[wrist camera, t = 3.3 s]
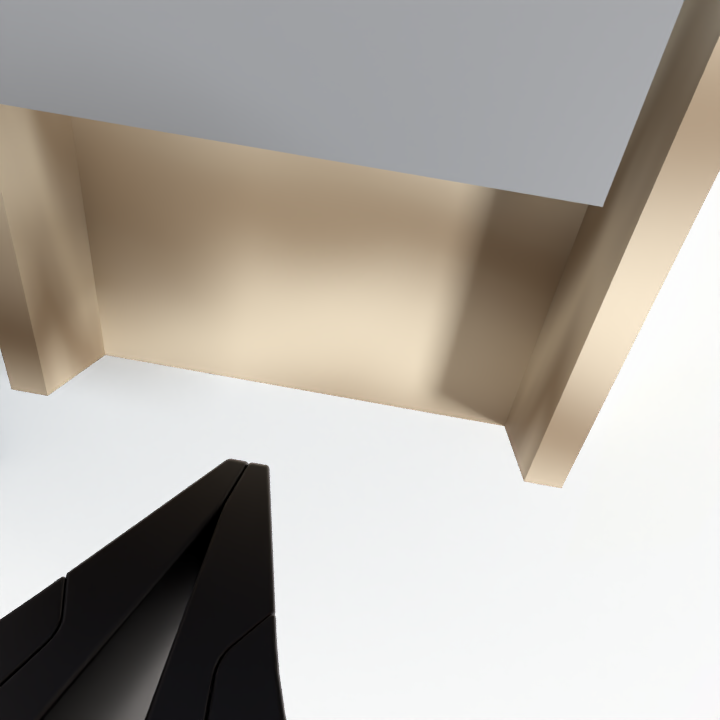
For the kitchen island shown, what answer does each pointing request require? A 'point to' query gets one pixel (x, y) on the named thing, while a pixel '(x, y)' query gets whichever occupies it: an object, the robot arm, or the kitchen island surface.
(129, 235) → the beige wooden tray
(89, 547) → the kitchen island surface
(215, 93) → the slate block
